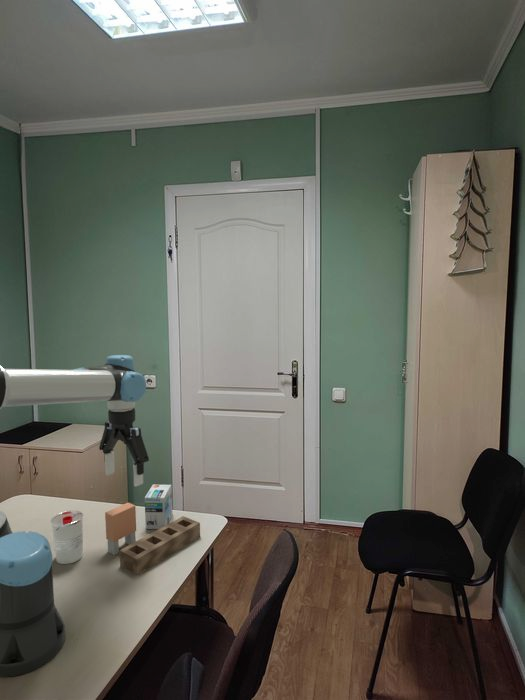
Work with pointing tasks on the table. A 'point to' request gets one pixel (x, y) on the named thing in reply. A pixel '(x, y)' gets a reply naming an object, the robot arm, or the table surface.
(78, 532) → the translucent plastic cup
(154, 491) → the light bulb box
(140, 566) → the brown long block
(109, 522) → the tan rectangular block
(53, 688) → the table surface
